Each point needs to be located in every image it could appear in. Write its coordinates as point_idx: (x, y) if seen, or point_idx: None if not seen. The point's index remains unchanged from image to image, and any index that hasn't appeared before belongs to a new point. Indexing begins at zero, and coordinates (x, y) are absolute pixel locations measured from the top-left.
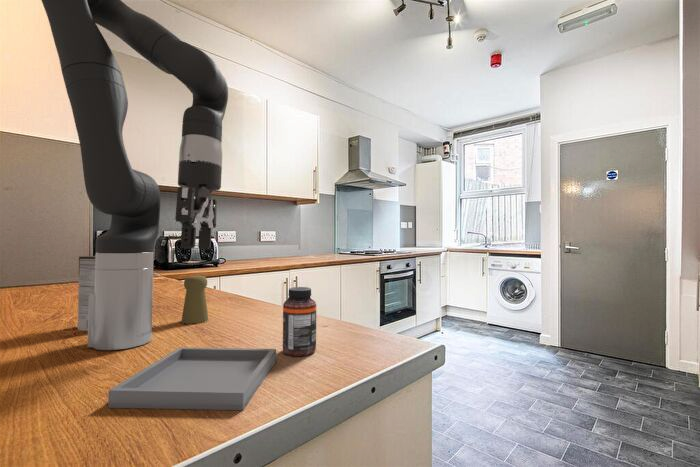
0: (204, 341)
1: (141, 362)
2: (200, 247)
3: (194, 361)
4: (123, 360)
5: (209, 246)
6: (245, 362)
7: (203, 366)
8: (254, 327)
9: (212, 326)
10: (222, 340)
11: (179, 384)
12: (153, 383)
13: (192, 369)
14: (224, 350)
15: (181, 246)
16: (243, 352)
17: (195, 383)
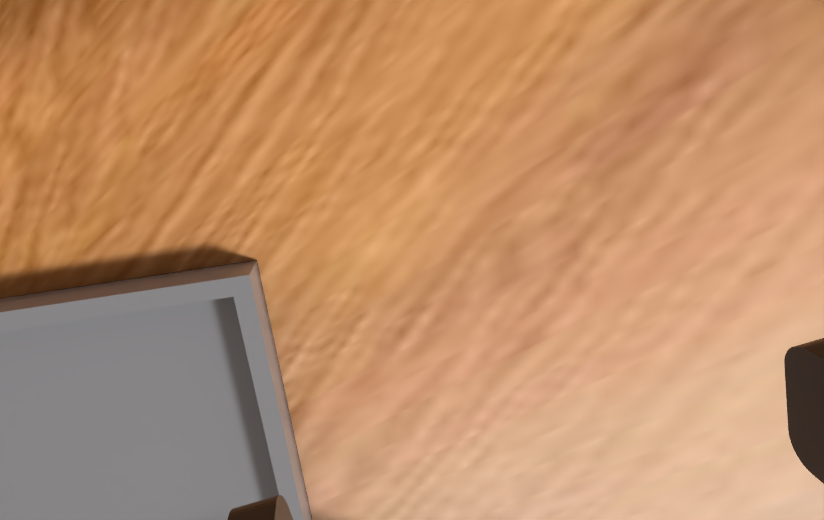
0: (488, 215)
1: (192, 136)
2: (795, 369)
3: (215, 353)
4: (191, 43)
5: (813, 472)
6: None
7: (182, 407)
8: (731, 314)
9: (743, 101)
10: (513, 282)
11: (33, 425)
12: (10, 351)
13: (148, 390)
14: (268, 444)
15: (232, 514)
16: None
17: (56, 461)
